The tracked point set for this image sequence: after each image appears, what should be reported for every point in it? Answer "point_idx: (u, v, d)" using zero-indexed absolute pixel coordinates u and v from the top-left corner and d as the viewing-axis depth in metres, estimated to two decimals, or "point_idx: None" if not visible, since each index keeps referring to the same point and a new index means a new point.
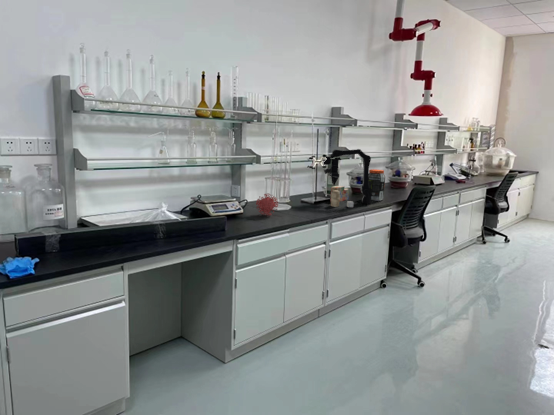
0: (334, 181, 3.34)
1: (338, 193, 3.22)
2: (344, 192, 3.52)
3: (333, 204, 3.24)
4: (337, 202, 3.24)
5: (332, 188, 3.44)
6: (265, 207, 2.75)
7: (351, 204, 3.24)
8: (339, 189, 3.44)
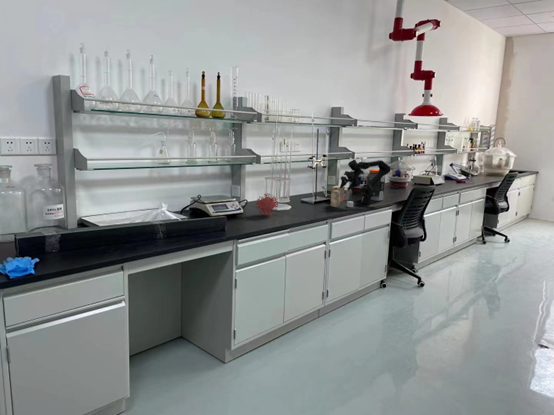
0: (351, 187, 3.24)
1: (338, 193, 3.22)
2: (344, 192, 3.52)
3: (333, 204, 3.24)
4: (337, 202, 3.24)
5: (332, 188, 3.44)
6: (265, 207, 2.75)
7: (351, 204, 3.24)
8: (339, 189, 3.44)
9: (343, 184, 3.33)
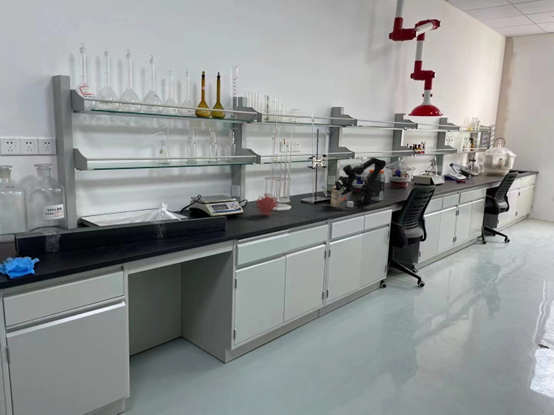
0: (345, 192, 3.21)
1: (338, 193, 3.22)
2: None
3: (333, 204, 3.24)
4: (337, 202, 3.24)
5: (333, 188, 3.44)
6: (265, 207, 2.75)
7: (351, 204, 3.24)
8: (340, 189, 3.44)
9: (337, 189, 3.30)
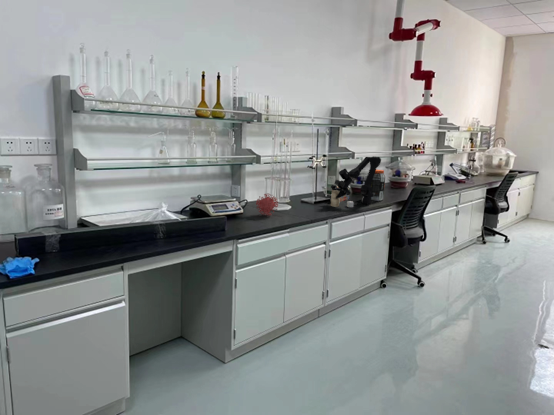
0: (339, 195, 3.22)
1: (338, 193, 3.22)
2: None
3: (333, 204, 3.24)
4: (337, 202, 3.24)
5: None
6: (265, 207, 2.75)
7: (351, 204, 3.24)
8: None
9: None
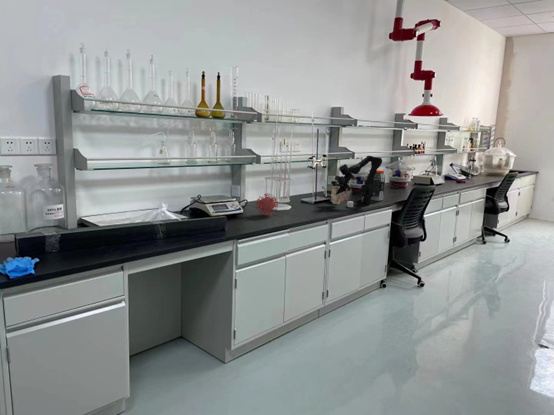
0: (339, 191, 3.21)
1: (338, 189, 3.22)
2: (345, 192, 3.53)
3: (333, 200, 3.23)
4: (337, 198, 3.23)
5: None
6: (265, 207, 2.75)
7: (351, 204, 3.24)
8: None
9: None
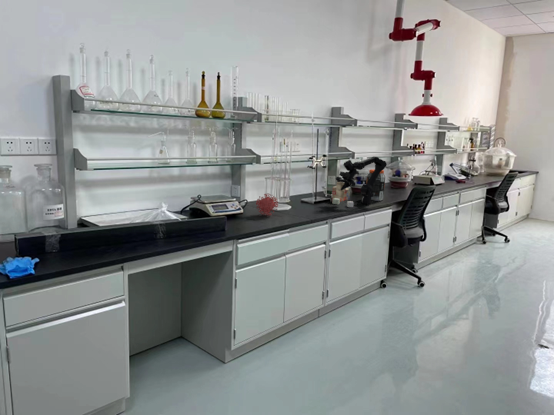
0: (344, 187, 3.23)
1: (343, 184, 3.23)
2: (345, 192, 3.53)
3: (338, 195, 3.25)
4: (342, 193, 3.25)
5: (333, 188, 3.45)
6: (265, 207, 2.75)
7: (351, 204, 3.24)
8: None
9: None
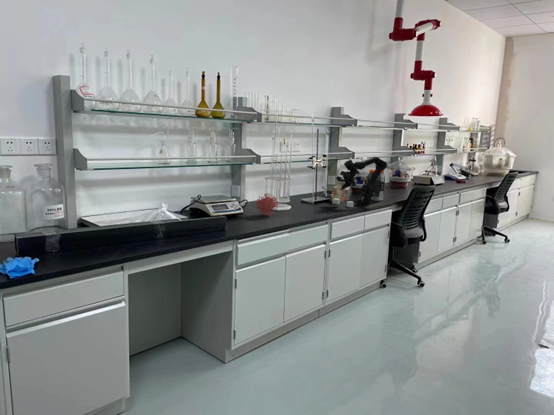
0: (344, 186, 3.23)
1: (343, 184, 3.23)
2: (345, 192, 3.53)
3: (338, 195, 3.25)
4: (342, 193, 3.25)
5: (334, 188, 3.45)
6: (265, 207, 2.75)
7: (351, 204, 3.24)
8: None
9: None
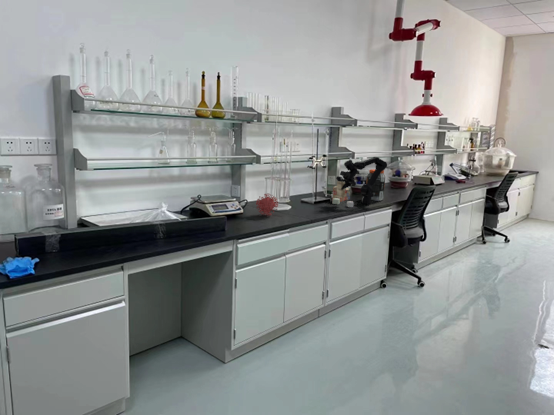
0: (344, 186, 3.23)
1: (343, 184, 3.23)
2: (345, 192, 3.54)
3: (338, 195, 3.25)
4: (342, 193, 3.25)
5: (334, 188, 3.45)
6: (265, 207, 2.75)
7: (351, 204, 3.24)
8: None
9: None
